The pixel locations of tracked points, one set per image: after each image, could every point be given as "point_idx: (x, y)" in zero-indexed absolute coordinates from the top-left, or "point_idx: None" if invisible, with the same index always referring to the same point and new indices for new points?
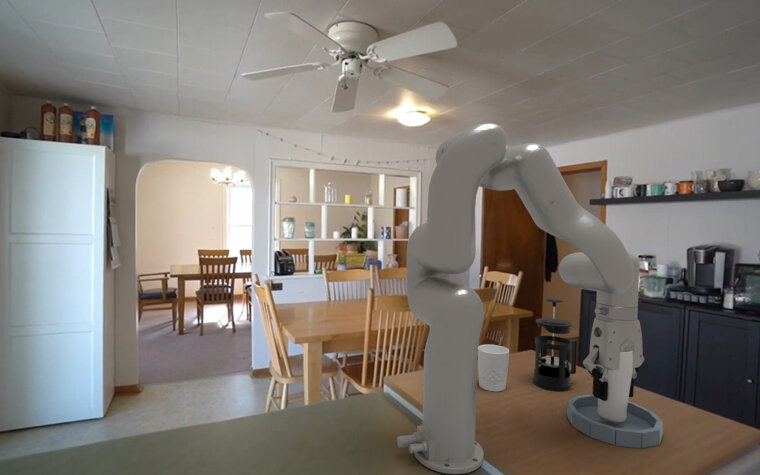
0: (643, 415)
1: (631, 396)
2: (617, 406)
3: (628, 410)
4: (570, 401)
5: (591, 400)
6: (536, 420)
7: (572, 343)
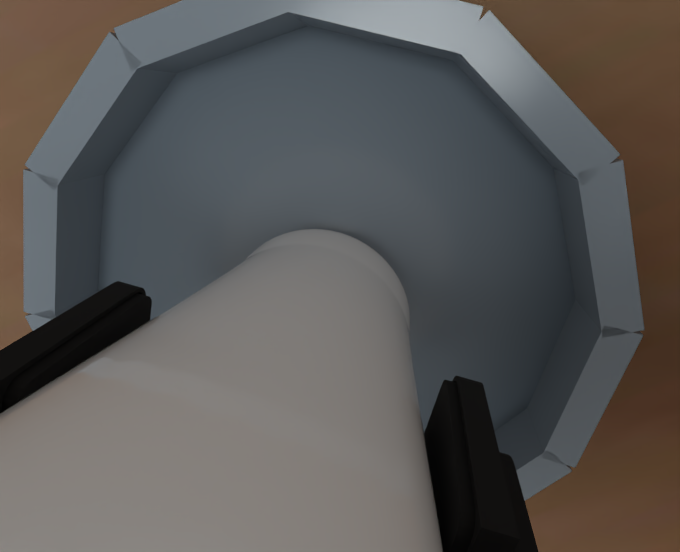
0: (86, 210)
1: (139, 287)
2: (377, 291)
3: None
4: None
5: None
6: (658, 541)
7: None
